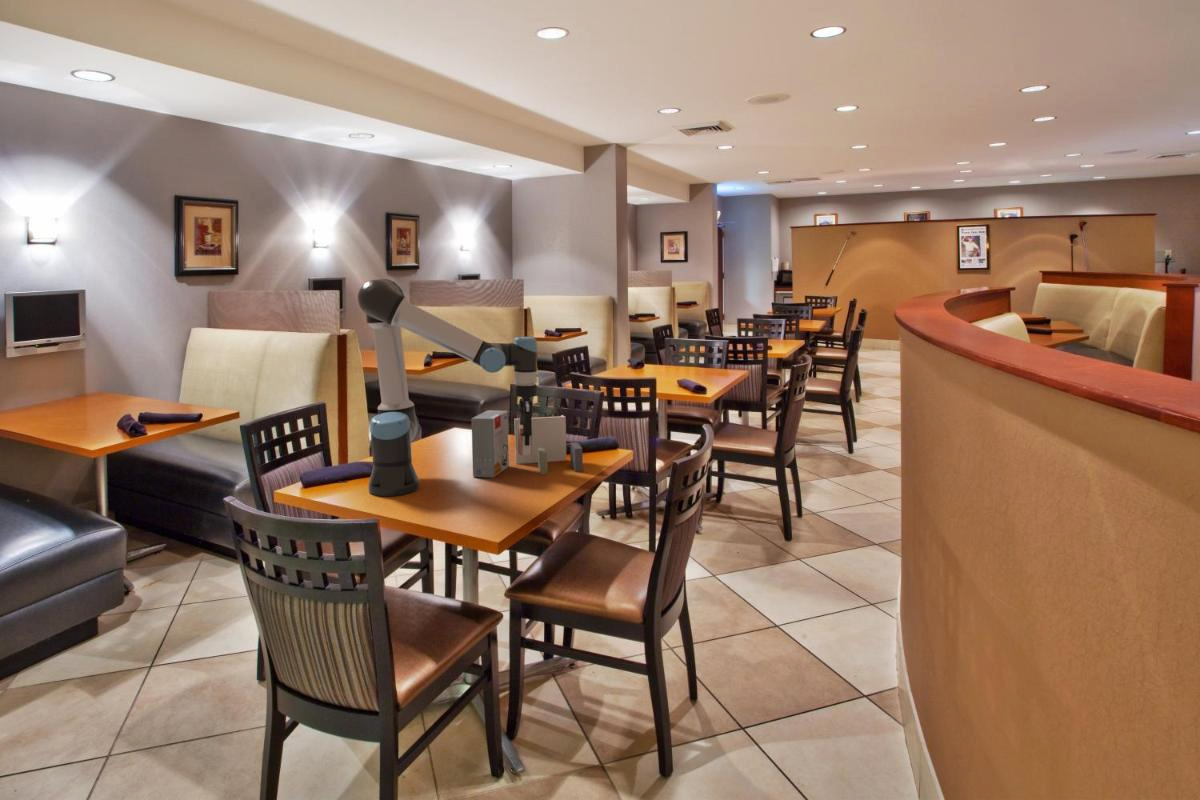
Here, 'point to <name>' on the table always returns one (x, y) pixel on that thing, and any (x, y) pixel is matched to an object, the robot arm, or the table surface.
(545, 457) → the divider book
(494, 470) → the hard drive box
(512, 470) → the table surface
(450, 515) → the table surface
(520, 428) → the book
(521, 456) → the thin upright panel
